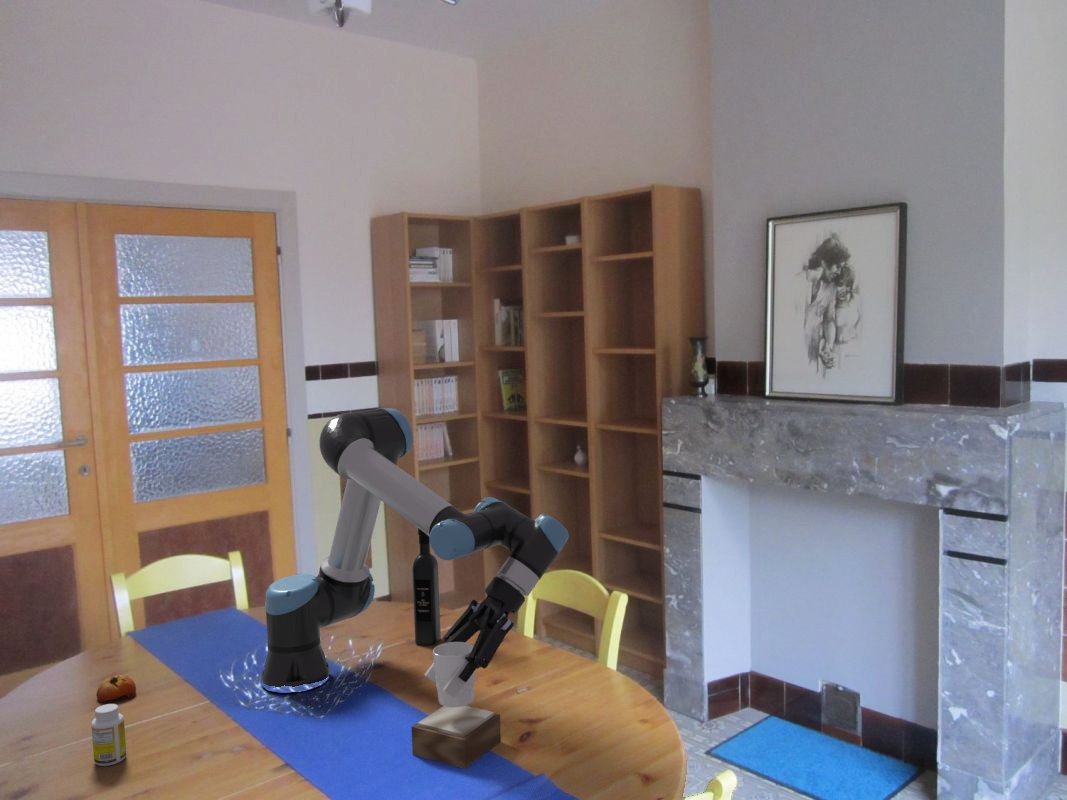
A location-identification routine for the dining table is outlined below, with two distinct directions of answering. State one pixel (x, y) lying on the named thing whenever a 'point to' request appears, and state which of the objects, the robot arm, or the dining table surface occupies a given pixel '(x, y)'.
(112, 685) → the tomato
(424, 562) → the wine bottle
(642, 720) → the dining table surface
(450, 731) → the base
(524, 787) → the dining table surface
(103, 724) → the supplement bottle
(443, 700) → the white cup
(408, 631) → the dining table surface
